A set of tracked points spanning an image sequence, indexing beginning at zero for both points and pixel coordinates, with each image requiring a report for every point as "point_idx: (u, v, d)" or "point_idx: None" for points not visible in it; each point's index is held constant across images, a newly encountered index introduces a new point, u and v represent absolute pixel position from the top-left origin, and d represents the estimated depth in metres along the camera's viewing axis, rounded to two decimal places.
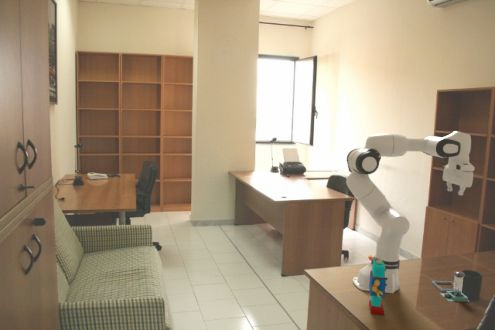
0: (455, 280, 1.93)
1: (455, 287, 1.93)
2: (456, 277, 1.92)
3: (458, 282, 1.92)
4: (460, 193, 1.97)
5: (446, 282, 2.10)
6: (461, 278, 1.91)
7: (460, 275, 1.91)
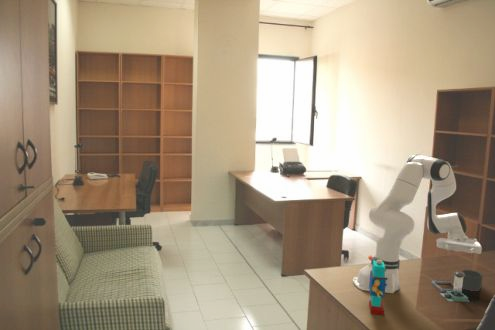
0: (455, 280, 1.93)
1: (455, 287, 1.93)
2: (456, 277, 1.92)
3: (458, 282, 1.92)
4: (471, 250, 2.01)
5: (446, 282, 2.10)
6: (461, 278, 1.91)
7: (460, 275, 1.91)
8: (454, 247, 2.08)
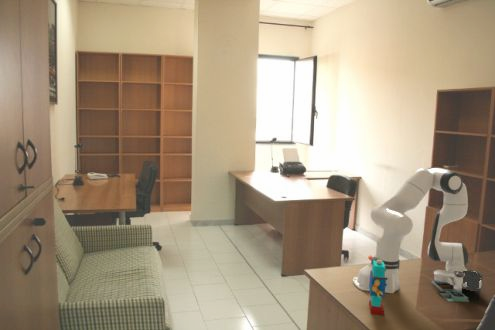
0: (455, 280, 1.93)
1: (455, 287, 1.93)
2: (456, 277, 1.92)
3: (458, 282, 1.92)
4: (465, 284, 1.92)
5: (446, 282, 2.10)
6: (461, 278, 1.91)
7: (460, 275, 1.91)
8: (453, 280, 1.98)
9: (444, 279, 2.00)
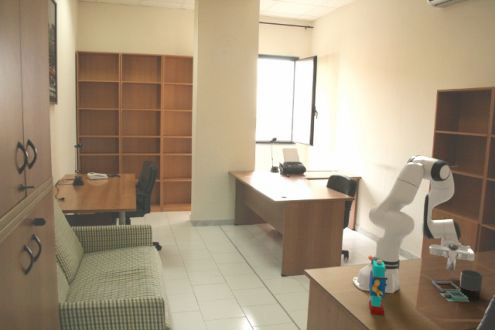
0: (449, 253, 2.02)
1: (449, 259, 2.02)
2: (450, 250, 2.02)
3: (452, 255, 2.01)
4: (459, 256, 2.02)
5: (446, 282, 2.10)
6: (455, 251, 2.01)
7: (454, 248, 2.00)
8: (447, 254, 2.08)
9: (439, 253, 2.09)
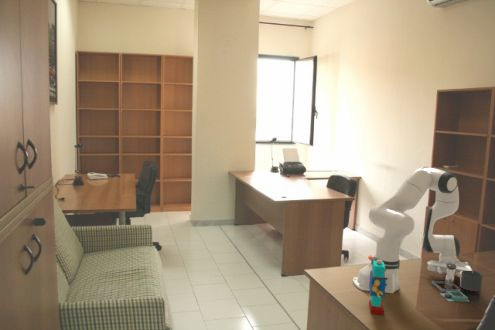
0: (447, 272, 2.03)
1: (447, 279, 2.03)
2: (448, 269, 2.03)
3: (450, 274, 2.02)
4: (460, 274, 2.02)
5: None
6: (453, 270, 2.02)
7: (452, 267, 2.01)
8: (445, 270, 2.09)
9: None
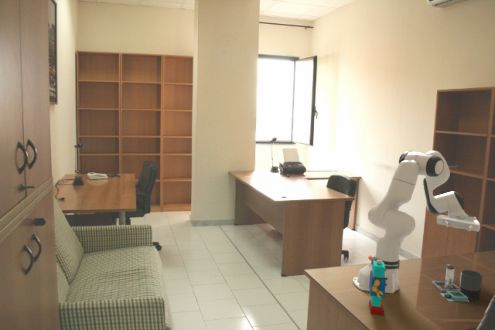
0: (447, 272, 2.04)
1: (447, 278, 2.04)
2: (448, 269, 2.03)
3: (449, 274, 2.02)
4: None
5: None
6: (452, 270, 2.02)
7: (451, 267, 2.02)
8: (453, 224, 2.15)
9: None
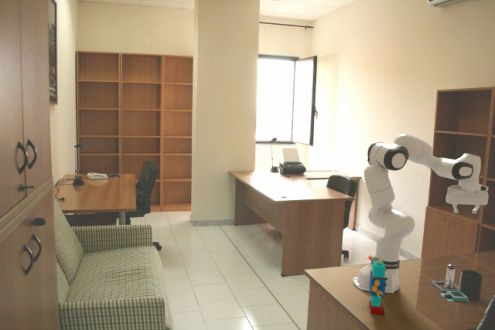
0: (447, 272, 2.03)
1: (447, 278, 2.03)
2: (448, 269, 2.03)
3: (450, 274, 2.02)
4: None
5: None
6: (453, 270, 2.02)
7: (452, 267, 2.01)
8: None
9: None
